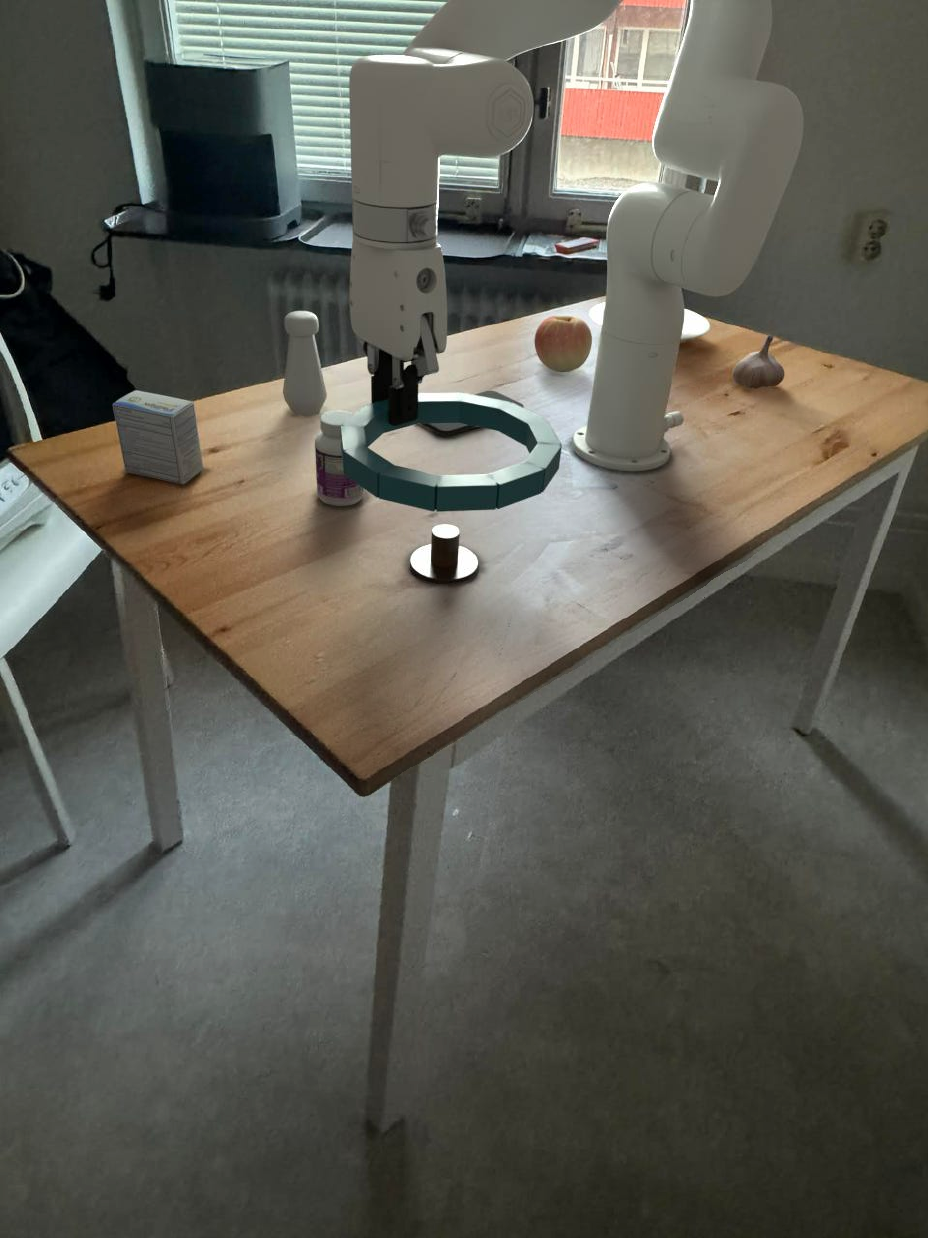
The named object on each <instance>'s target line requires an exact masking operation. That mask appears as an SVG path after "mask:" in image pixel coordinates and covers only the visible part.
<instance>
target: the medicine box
mask: <svg viewBox="0 0 928 1238" xmlns="http://www.w3.org/2000/svg"><path fill="white" fill-rule="evenodd" d="M112 410H113V414H114V420H115V425H116V431H117V436H118V442H119V446H120V451H121V457H122V462H123V466H124V467H123V468H124V471H125V473H129V474H135V475H138V476H143V477H147V478H148V477H149V478H151V479H157V480H161V481H166V482H169V483H175V484H180V485H182V486H183V485H186V484H187V483H188V482H189V481H191V480H192V479H193V478H195V476H197V475H198V474H199V473H201V472H202V471H203V470H204V464H203V463H204V462H203V456H202V450H201V449H202V448H201V442H200V435H199V428H198V422H197V413H196V408H195V403H194V402H193V401H192V400H187V399H182V398H177V397H173V396H168V395H163V394H158V393H152V392H147V391H143V390H133V391H131V392H129V393H127V394H125V395H124V396H122V397H120V398H119V399H117V400H116V401H115V402H113V403H112Z"/></svg>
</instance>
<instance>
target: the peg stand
mask: <svg viewBox="0 0 928 1238" xmlns="http://www.w3.org/2000/svg"><path fill="white" fill-rule="evenodd" d="M460 535H461V531H460V529H459V528H458V527H457V526H456V525H452V524H447V523H442V524H437V525H435V526H434V527H433V528H432V529H431V541H430V542H431V543H430V544H425V545H423V546H420V547H419V548H417V549H415V550H414V551H413V552H412V553H411V555H410V558H409V567H410V569H411V571H412V572H413V574H415V575H416V576H417V577H419V578H421V579H422V580H424V581H427V582H429V583H435V584H442V585H450V584H457V583H458V584H459V583H462V582H465V581H467V580H469V579H471V578H473V577H474V576H475V575H476V574H477V572H478V569H479V559H478V557H477V555H476V554H475V553H474V552H473V551H471V550H470V549H469V548H467V547H464V546H461V545H460V538H461V537H460Z"/></svg>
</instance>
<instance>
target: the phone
mask: <svg viewBox="0 0 928 1238" xmlns="http://www.w3.org/2000/svg"><path fill="white" fill-rule="evenodd" d="M473 395H477V396H482V397H487V398H492V399H497V400H502V401H508V402H511V403H514V404H516V405H518V406H520V407H522V408H524V407H525V406H524V404H523V403H521V402H520V401H517V400H515V399H513V398H511V397H509V396H507V395H504V394H502V393H500V392H498V391H495V390H485V391H481V392H478V393H475V394H473ZM421 425H422V426H424V427H426V428H427V429H429V430H431V431H433V432H435V434H438V435H441V436H445V437H446V436H447V437H449V436H453V435H456V434H459V433H462V432H466V431H469V430H471V429H475V428H477V427H476V426H472V425H467V424H462V423H425V424H421Z"/></svg>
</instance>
